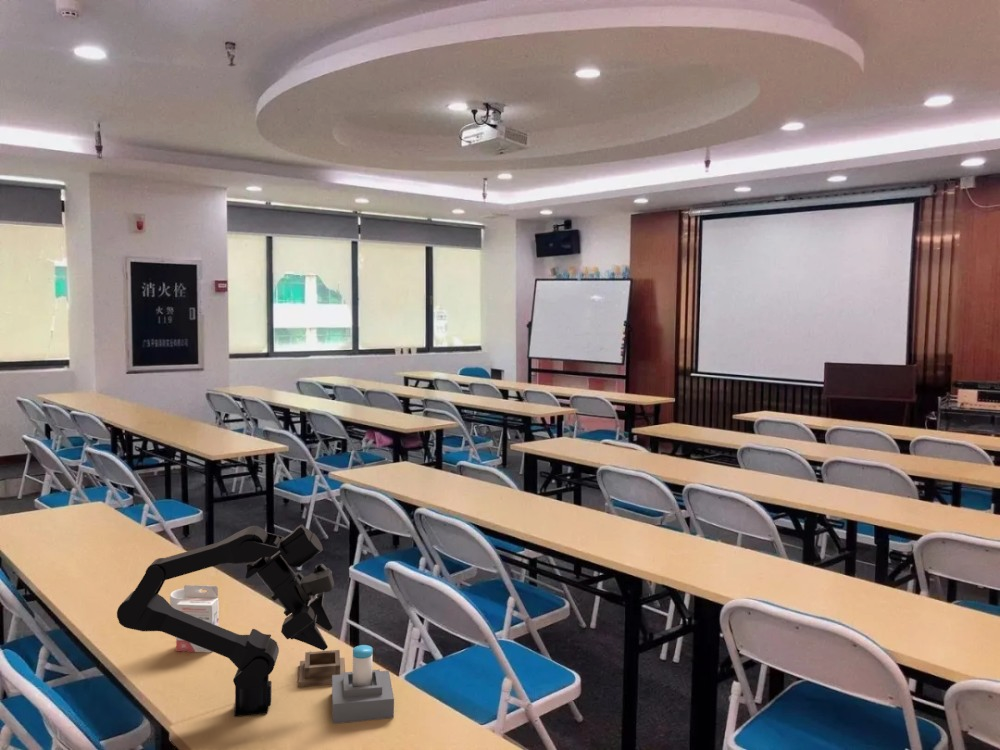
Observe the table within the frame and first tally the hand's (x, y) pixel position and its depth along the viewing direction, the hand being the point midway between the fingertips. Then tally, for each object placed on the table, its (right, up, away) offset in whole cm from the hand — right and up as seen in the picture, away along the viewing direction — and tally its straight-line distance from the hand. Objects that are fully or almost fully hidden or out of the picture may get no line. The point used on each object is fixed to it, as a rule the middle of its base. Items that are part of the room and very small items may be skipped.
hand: (328, 638), depth 153 cm
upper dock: (+7, -14, +2) cm, 16 cm away
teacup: (-49, -9, +46) cm, 68 cm away
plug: (+7, -10, +1) cm, 12 cm away
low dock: (-5, -13, +14) cm, 20 cm away
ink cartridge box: (-37, -11, +25) cm, 46 cm away
